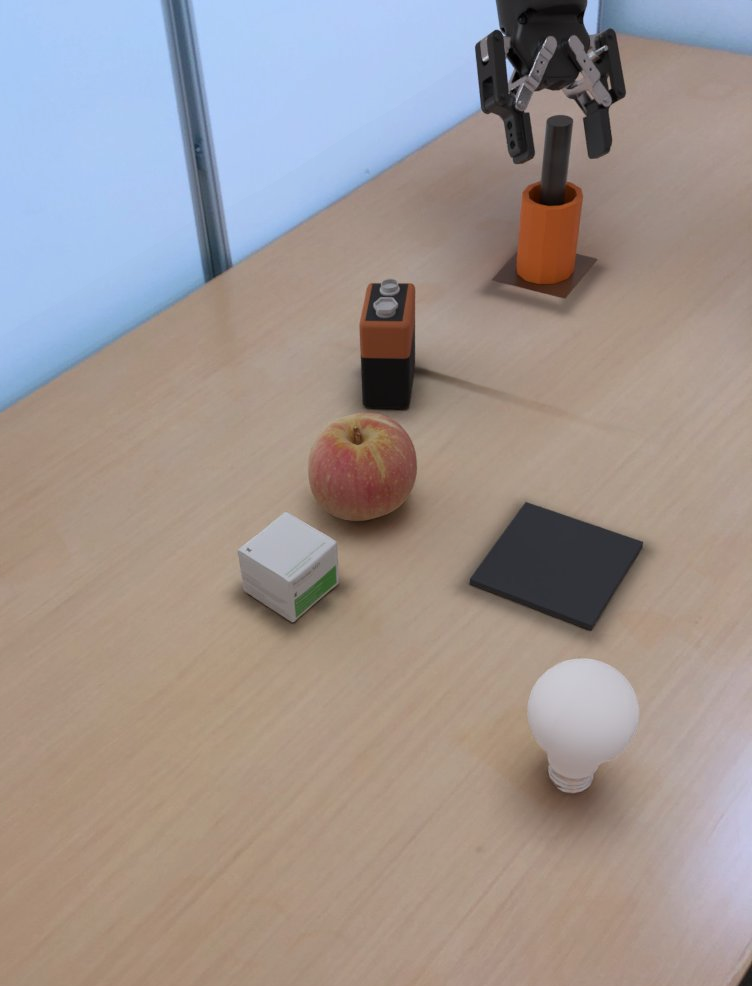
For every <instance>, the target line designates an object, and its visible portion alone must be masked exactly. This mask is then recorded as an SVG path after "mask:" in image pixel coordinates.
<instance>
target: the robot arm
mask: <svg viewBox="0 0 752 986" xmlns="http://www.w3.org/2000/svg"><path fill="white" fill-rule="evenodd" d="M495 7H496V12H497V19H498V26H499V29H494V30H493V31H491V32H490V33H489V34H487V35H486V36H485V37H483V38H482V39H480V40H479V41H477V42H476V43H475V45H474V51H475V62H476V70H477V81H478V94H479V102H480V103H479V104H480V109H481V111H482V113H483V114H485V115H491V114H494V115H495V116H499V118H500V120H501V121H502V122H503V126H504V132H505V134H504V135H505V140H506V147H507V153H508V155H509V157H510V158H511V159H512V163H513V164H514V165H524V164H525V163H528V162H529V161H531V160H533V159H534V158H535V155H536V148H535V142H534V136H533V135H534V134H533V128H532V122H531V121H532V120H531V113H530V112H526V110H527V108H528V106H529V103H530V102H531V99H532V96H533V94H534V92H540V91H542V90H545V89H546V90H549V91H552V92H554V91H555V92H557V91H562V92H563V94H564V95H565V96H566V98H568V99H569V100H573V101H574V102H575V103H576V104H577V106H578V107H579V108H580V110H581V111H582V113H583V114H584V115H585V116H583V117H582V122H583V129H584V130H583V131H584V138H585V144H586V151H587V157H588V159H589V160H594V159H595V160H596V159H597V160H598V159H599V158H602V157H604V156H606V155H608V154H609V153H610V152H611V148H612V145H613V134H612V127H611V119H610V108H611V106H612V105H614V104H615V103H617V102H619V101H621V100H623V99H624V98H625V97H626V96H627V89H626V84H625V78H624V73H623V72H624V71H623V65H622V60H621V55H620V54H621V53H620V49H619V43H618V38H617V33H616V31H615V29H613V28H607V29H605V30H603V31H602V32H600V33H596V34H595V33H594V34H589V32H588V30H587V28H586V26H585V21H584V17H585V14H586V10H587V7H588V0H495ZM507 60H508V62H509V63H510V65H511V66H512V68H513V71H512V73H511V75H510V77H509V79H508V68H507ZM580 74H581V76H582V78H581V79H579V80H577V79H578V77H579V75H580ZM608 78H609V82H608ZM609 83H610V88H609ZM588 92H589V93H588ZM589 94H590V95H589ZM591 96H592V97H591Z"/></svg>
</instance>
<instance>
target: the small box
mask: <svg viewBox="0 0 752 986" xmlns="http://www.w3.org/2000/svg"><path fill="white" fill-rule="evenodd" d="M237 558H238V562H239V563H238V564H239V568H240V570H239V571H240V576H241V581H242V588H243V591H244V592H245V593H246V594H248V595H249V596H250V597H252V598H254V599H255V600H257V601H258V602H260V603H261V604H263V605H264V606H266V607H268V608H269V609H270V610H271V611H274V612H275V613H276V614H278V615H279V616H281V617H283V618H284V619H285V620H287V621H289V622H290V623H294V622H296V621H297V620H298V619H299V618H300V617H301V616H303V614H305V613H306V612H307V611H308V610H309V609H310V608H312V607H313V606H314V605H315V604H316V603H318V601H320V600H321V599H322V598H324V596H326V595H327V594H329V592H330V591H331V590H333V589H334V588H336V587H337V586H338V585H339V583H340V572H339V569H340V568H339V554H338V541H336V540H335V539H334V538H332V537H330V536H328V535H327V534H325V533H323V532H322V531H320V530H319V529H317V528H315V527H313V526H311V525H310V524H308V523H306V522H304V521H303V520H301V519H300V518H298V517H296V516H295V515H293V514H292V513H290V512H289V511H284V512H283V513H282V514H281V515H279V516H278V517H277V518H275V519H274V520H273V521H272V522H271V523H269V524H268V525H267V526H266V527H265V528H263V529H262V530H261V531H260V532H258V533H257V534H256V535H255V536H253V537H252V538H250V539H249V540H248V541H247V542H246V543H244V544H243V545H242V546H241V547H239V548H238V549H237Z"/></svg>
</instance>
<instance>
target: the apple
mask: <svg viewBox="0 0 752 986" xmlns="http://www.w3.org/2000/svg"><path fill="white" fill-rule="evenodd" d="M308 455H309V456H308V465H307V466H308V467H307V468H308V469H307V473H308V474H307V475H308V483H309V488H310V490H311V494H312V496H313V498H314V500H315V501H316V502H317V503H318V505H319V506H320V507H321V508H322V509H323V510H324V511H325V512H327V513H328V514H329V515H330V516H333V517H336V518H338V519H341V520H345V521H352V522H353V521H354V522H362V521H369V520H370V521H371V520H374V519H377V518H380V517H383V516H386V515H389V514H391V513H393V512H394V511H396V510H397V509H399V508H400V507H401V506H402V505H403V504H404V503H405V502H406V500H407V499H408V498H409V496H410V495H411V493H412V491H413V488H414V486H415V483H416V479H417V474H418V460H417V453H416V449H415V445H414V443H413V440H412V439H411V437H410V435H409V433H408V432H407V431H406V429H404V428H403V426H402V425H401V424H400V423H398V422H397V421H396V420H394V419H393V418H391V417H389V416H387V415H384V414H381V413H377V412H376V413H375V412H358V413H352V414H348V415H345V416H344V415H343V416H340V417H338V418H335V419H333V420H332V421H330V422H329V423H328V424H327V425H325V426H324V427H323V428H322V429H321V430H320V432H319V433H318V435H317V436H316V438H315V439H314V441H313V443H312V444H311V447H310V451H309V454H308Z"/></svg>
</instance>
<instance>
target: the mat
mask: <svg viewBox="0 0 752 986" xmlns="http://www.w3.org/2000/svg"><path fill="white" fill-rule="evenodd" d="M643 545H644V541H643V540H639V539H636V538H634V537H630V536H628V535H624V534H621V533H619V532H616V531H612V530H610V529H607V528H604V527H601V526H598V525H595V524H592V523H589V522H587V521H584V520H580V519H578V518H575V517H572V516H569V515H567V514H563V513H560V512H557V511H554V510H551V509H548V508H546V507H542V506H539V505H536V504H535V503H534V504H533V503H530V502H528V501H525V502H524V503H523V505H522V506H521V508H520V509H519V510H518V512H517V513H516V515H515V516H514V517H513V519H512V520H511V521H510V523H509V524H508V525H507V527H506V528H505V530H504V531H503V532H502V534H501V535H500V536H499V538H498V539H497V540H496V542H495V543H494V545H493V546H492V547H491V549H490V550H489V552H488V553H487V554H486V556H485V557H484V559H483V560H482V561H481V563H480V564H479V566H478V567H477V568H476V570H475V571H474V573H473V574H472V575H471V577H470V578H469V585H471V586H474V587H476V588H479V589H482V590H484V591H487V592H489V593H492V594H494V595H497V596H500V597H502V598H505V599H508V600H509V601H510V600H511V601H513V602H516V603H517V604H521V605H523V606H526V607H528V608H532V609H534V610H537V611H539V612H542V613H545V614H547V615H550V616H552V617H555V618H557V619H559V620H562V621H564V622H568V623H571V624H573V625H575V626H578V627H581V628H583V629H586V630H589V631H592V629H593V628H594V626H595V625H596V623H597V622H598V621H599V618H600V617H601V615H602V613H603V612H604V610H605V609H606V607H607V605H608V604H609V602H610V600H611V598H612V597H613V595H614V594H615V592H616V591H617V590H618V587H619V586H620V584H621V583H622V581H623V579H624V577H625V576H626V574H627V573H628V571H629V569H630V568H631V566H632V564H633V563H634V561H635V559H637V557H638V555H639V553H640V552H641V550H642V548H643Z"/></svg>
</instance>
